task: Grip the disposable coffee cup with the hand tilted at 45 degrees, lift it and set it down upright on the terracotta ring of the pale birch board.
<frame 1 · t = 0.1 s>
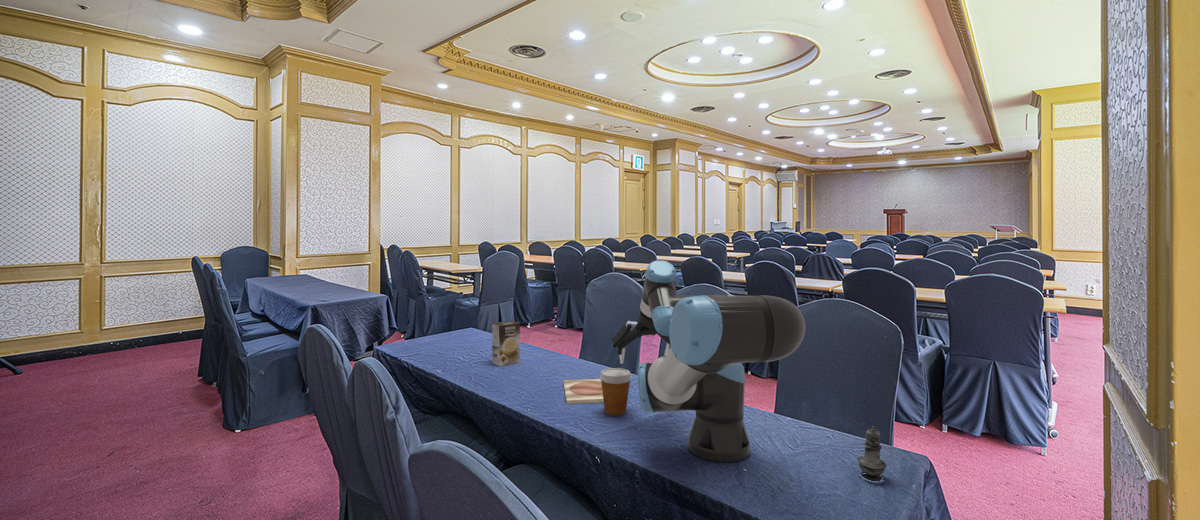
hand: (643, 359, 160), 15 cm above the table, tool tilted 35°, fingers open, 13 cm apart
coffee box: (506, 363, 211), on the table
birch target board: (589, 392, 176), on the table
disposable coffee cup: (615, 412, 159), on the table
dark grey chess piece: (871, 478, 120), on the table
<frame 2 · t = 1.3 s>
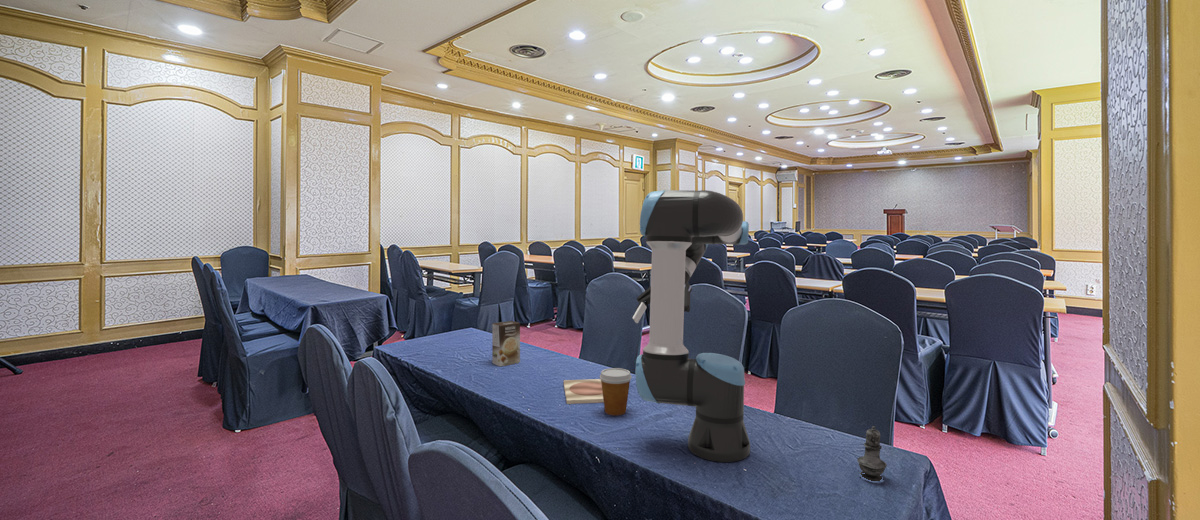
hand: (651, 324, 169), 24 cm above the table, tool tilted 45°, fingers open, 13 cm apart
nothing on the table moved.
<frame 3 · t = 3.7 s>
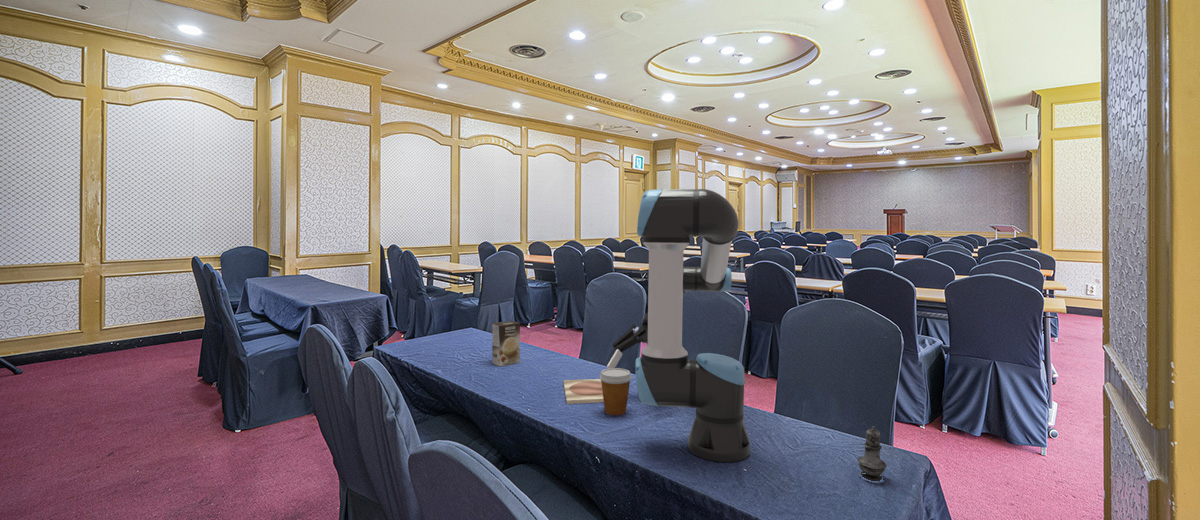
hand: (625, 373, 163), 10 cm above the table, tool tilted 45°, fingers open, 13 cm apart
nothing on the table moved.
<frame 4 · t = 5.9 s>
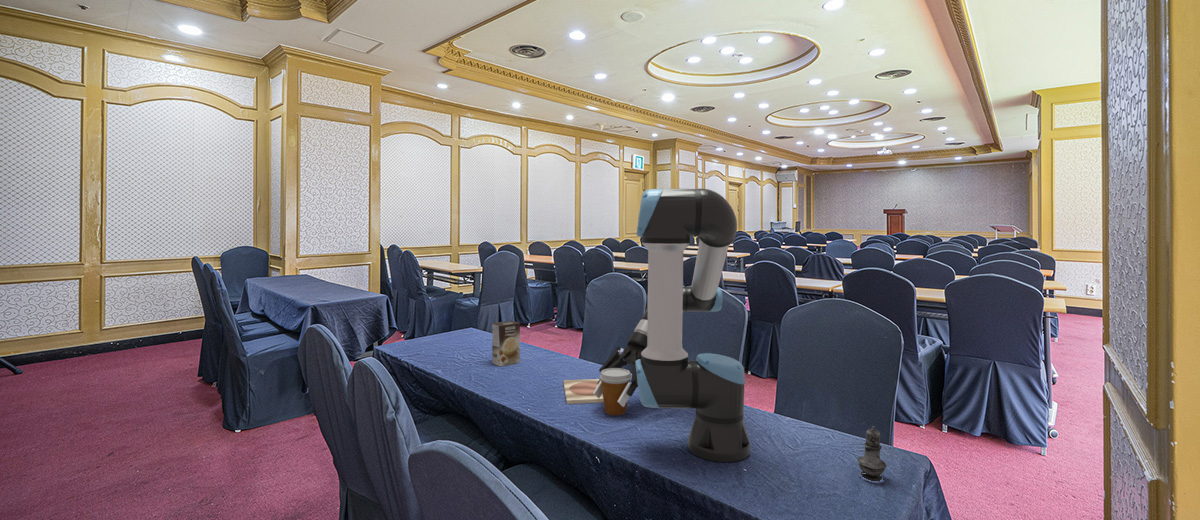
hand: (608, 399, 157), 4 cm above the table, tool tilted 45°, fingers closed on disposable coffee cup, 9 cm apart
disposable coffee cup: (615, 412, 159), on the table, touching gripper
everything else where it was.
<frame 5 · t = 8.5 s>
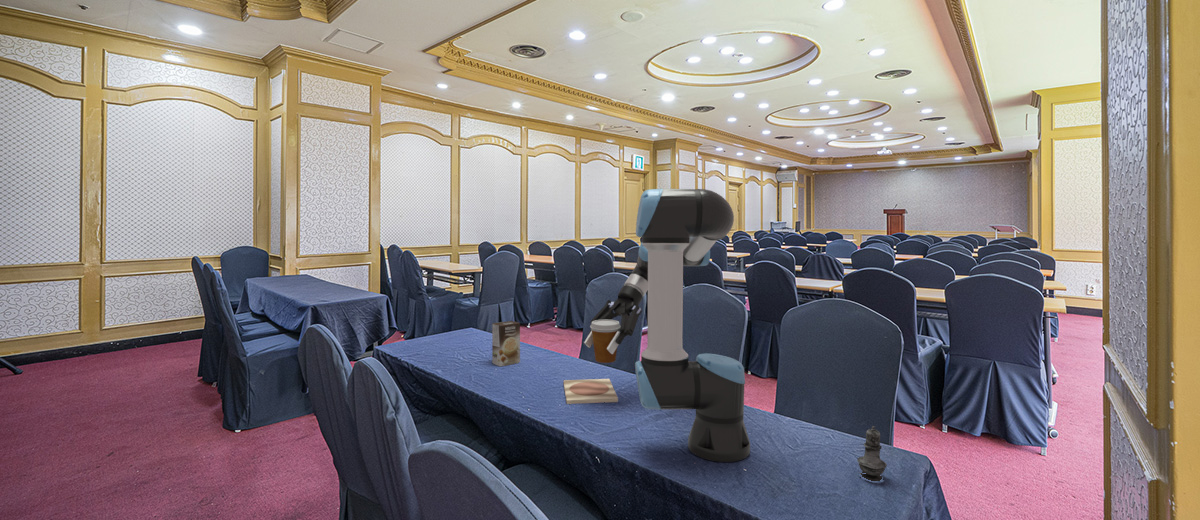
hand: (598, 348, 164), 17 cm above the table, tool tilted 45°, fingers closed on disposable coffee cup, 9 cm apart
disposable coffee cup: (605, 360, 167), point 13 cm above the table, touching gripper
everything else where it was.
when the fingers open (7 cm above the table, at t = 11.3 s): disposable coffee cup drops 1 cm, resting on birch target board.
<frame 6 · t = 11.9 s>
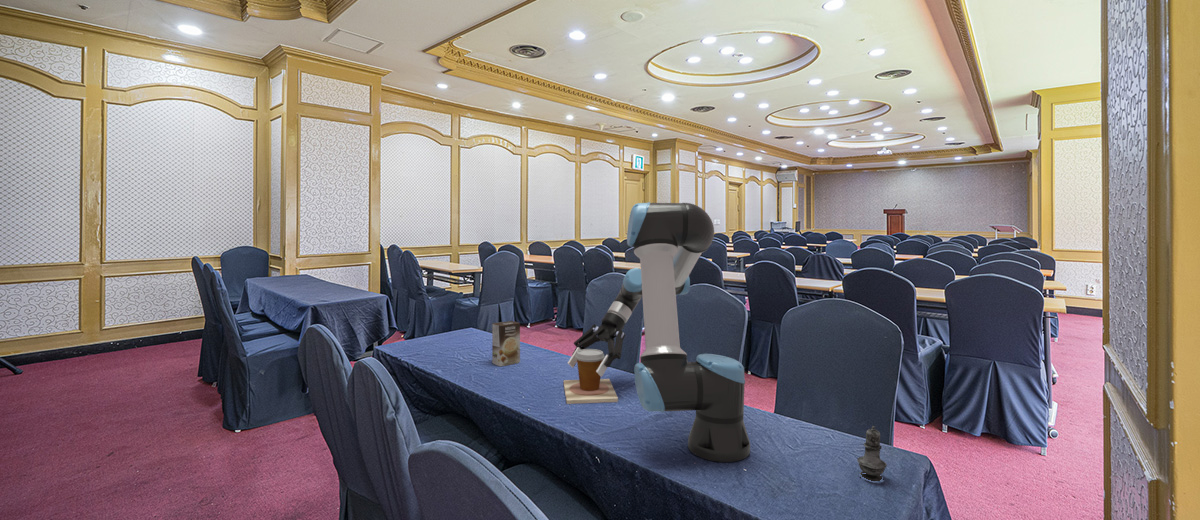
hand: (584, 369, 174), 8 cm above the table, tool tilted 45°, fingers open, 13 cm apart
disposable coffee cup: (589, 388, 176), point 1 cm above the table, touching birch target board
everything else where it was.
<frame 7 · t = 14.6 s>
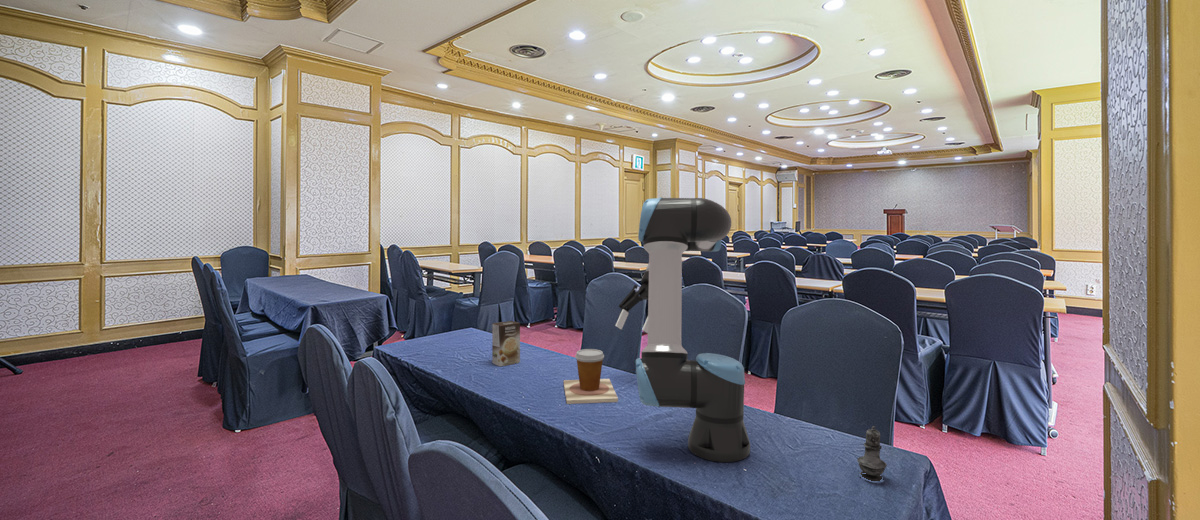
hand: (631, 329, 181), 20 cm above the table, tool tilted 35°, fingers open, 13 cm apart
nothing on the table moved.
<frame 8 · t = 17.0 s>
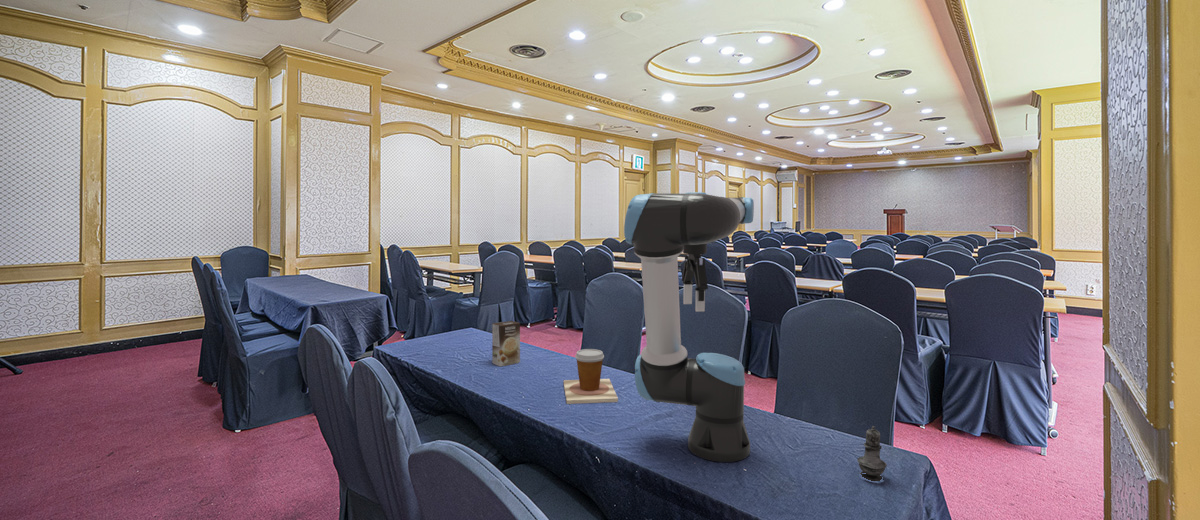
hand: (693, 307, 172), 29 cm above the table, tool pointing down, fingers open, 13 cm apart
nothing on the table moved.
at the end: disposable coffee cup inside the target area on the birch target board (0.1 cm from its centre), point 1.2 cm above the birch target board's base; disposable coffee cup tilted 0°; the gripper is holding nothing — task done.
